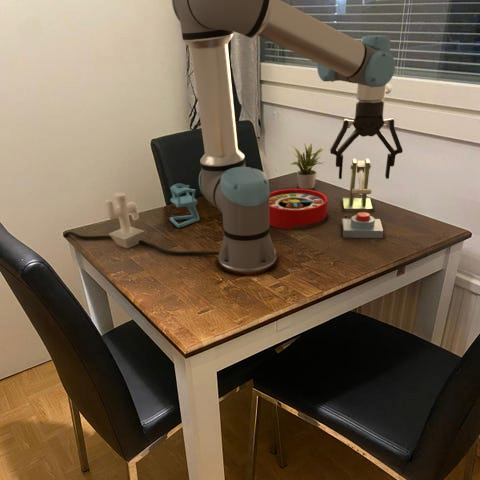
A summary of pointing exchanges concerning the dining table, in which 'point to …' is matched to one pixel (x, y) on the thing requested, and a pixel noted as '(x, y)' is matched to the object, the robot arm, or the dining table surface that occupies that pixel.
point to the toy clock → (296, 207)
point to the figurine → (124, 221)
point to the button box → (362, 228)
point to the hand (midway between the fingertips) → (363, 177)
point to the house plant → (307, 167)
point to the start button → (363, 216)
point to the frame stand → (351, 201)
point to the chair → (184, 204)
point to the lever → (361, 179)
